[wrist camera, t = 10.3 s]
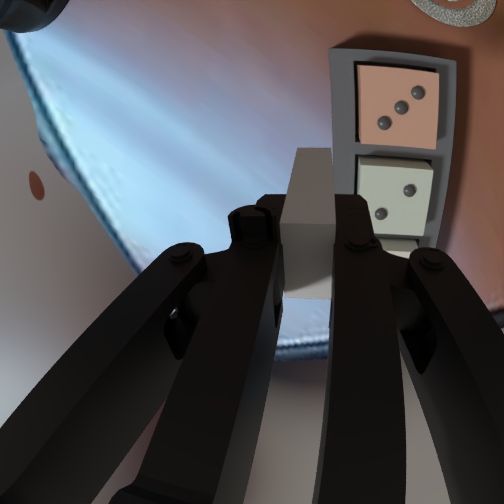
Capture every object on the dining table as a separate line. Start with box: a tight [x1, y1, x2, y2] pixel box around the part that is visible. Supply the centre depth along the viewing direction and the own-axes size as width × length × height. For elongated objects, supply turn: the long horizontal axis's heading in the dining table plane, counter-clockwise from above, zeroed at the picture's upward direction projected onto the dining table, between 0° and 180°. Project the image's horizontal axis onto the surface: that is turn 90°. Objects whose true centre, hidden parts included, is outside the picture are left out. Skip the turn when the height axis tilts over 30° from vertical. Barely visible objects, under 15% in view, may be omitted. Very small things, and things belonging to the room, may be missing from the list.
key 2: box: [356, 154, 433, 236], centre depth 30 cm, size 7×7×4 cm
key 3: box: [356, 65, 439, 150], centre depth 25 cm, size 7×7×4 cm
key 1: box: [376, 237, 418, 259], centre depth 35 cm, size 7×7×4 cm
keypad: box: [329, 48, 456, 248], centre depth 31 cm, size 12×28×4 cm, turn 6°
